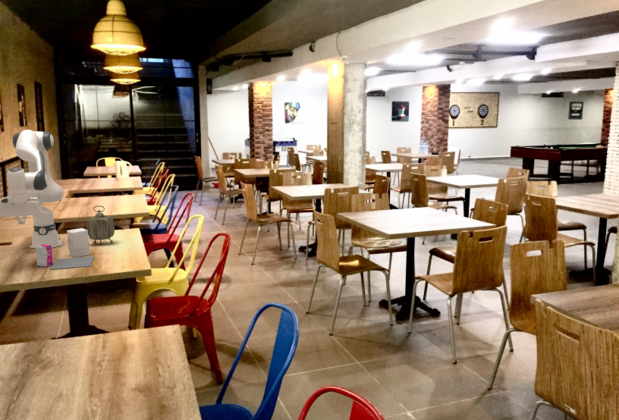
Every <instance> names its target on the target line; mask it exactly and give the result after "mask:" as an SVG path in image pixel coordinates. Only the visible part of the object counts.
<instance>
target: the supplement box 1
mask: <svg viewBox="0 0 619 420" xmlns="http://www.w3.org/2000/svg"><path fill="white" fill-rule="evenodd" d="M35 254H36V255H35V258H36V259H35V260H36V267H37V268H47V267H49V266H50V267H51V266H52V265H53V264H54V261H53V250H52V247H51V245H48V244H42V245H38V246H36V249H35Z"/></svg>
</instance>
